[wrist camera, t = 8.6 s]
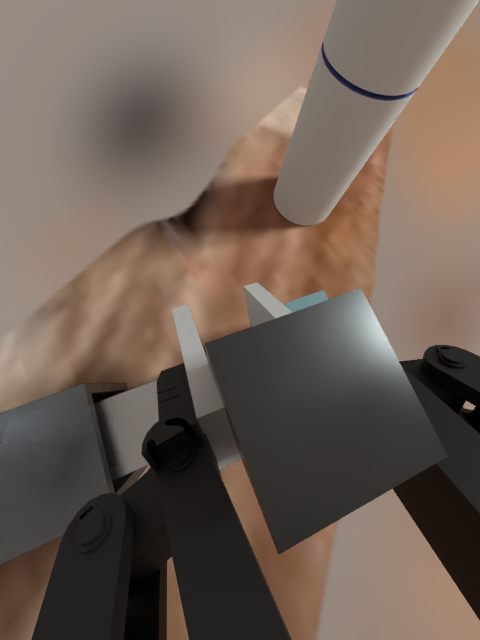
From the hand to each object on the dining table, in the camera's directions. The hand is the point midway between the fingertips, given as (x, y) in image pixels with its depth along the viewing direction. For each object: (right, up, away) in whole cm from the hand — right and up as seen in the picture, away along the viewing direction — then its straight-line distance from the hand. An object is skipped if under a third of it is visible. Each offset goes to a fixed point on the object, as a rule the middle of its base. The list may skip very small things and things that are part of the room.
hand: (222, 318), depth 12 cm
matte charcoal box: (-12, -10, +6) cm, 17 cm away
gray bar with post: (-2, -7, +7) cm, 10 cm away
